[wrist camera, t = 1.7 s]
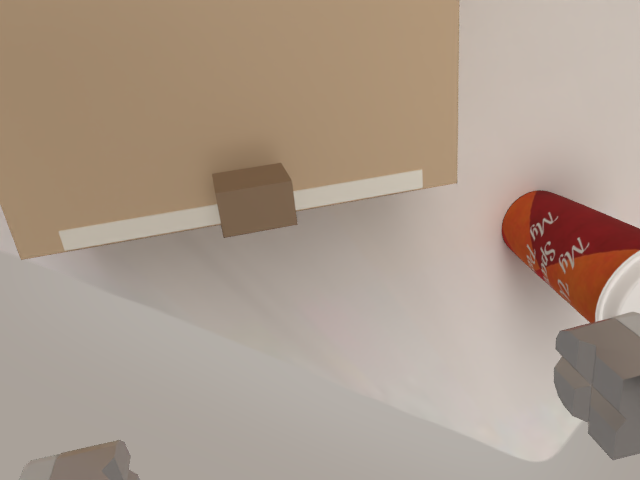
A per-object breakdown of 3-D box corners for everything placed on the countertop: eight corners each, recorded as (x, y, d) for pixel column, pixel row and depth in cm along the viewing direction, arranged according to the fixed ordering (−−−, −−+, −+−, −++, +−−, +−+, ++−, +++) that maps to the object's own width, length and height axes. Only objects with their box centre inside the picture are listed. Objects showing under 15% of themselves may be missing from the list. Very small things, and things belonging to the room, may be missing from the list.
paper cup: (481, 198, 43) (605, 281, 30) (569, 162, 43) (727, 229, 31) (497, 279, 46) (615, 383, 34) (578, 245, 47) (724, 335, 34)
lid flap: (24, 253, 26) (-6, 302, 22) (-177, -297, 18) (-289, -389, 13) (451, 179, 30) (495, 208, 26) (454, -307, 21) (521, -382, 17)
